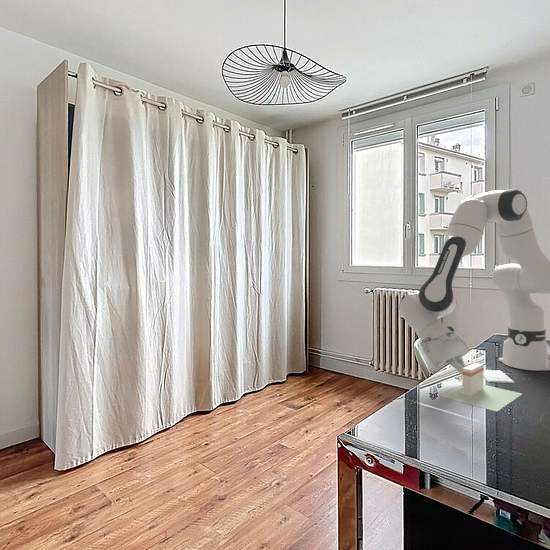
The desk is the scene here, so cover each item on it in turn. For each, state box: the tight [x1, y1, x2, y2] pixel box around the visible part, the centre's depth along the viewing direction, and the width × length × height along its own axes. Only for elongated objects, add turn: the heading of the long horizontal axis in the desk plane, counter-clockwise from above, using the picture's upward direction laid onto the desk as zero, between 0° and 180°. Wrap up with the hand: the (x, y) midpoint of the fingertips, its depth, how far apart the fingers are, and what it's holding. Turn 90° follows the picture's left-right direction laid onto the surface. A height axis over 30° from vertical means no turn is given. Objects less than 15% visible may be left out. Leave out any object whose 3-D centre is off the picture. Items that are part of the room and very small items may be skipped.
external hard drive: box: [483, 369, 516, 384], centre depth 136 cm, size 2×8×12 cm
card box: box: [461, 362, 485, 396], centre depth 122 cm, size 9×3×8 cm, turn 130°
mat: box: [440, 384, 523, 412], centre depth 120 cm, size 20×16×1 cm
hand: (464, 371), depth 124 cm, fingers closed
